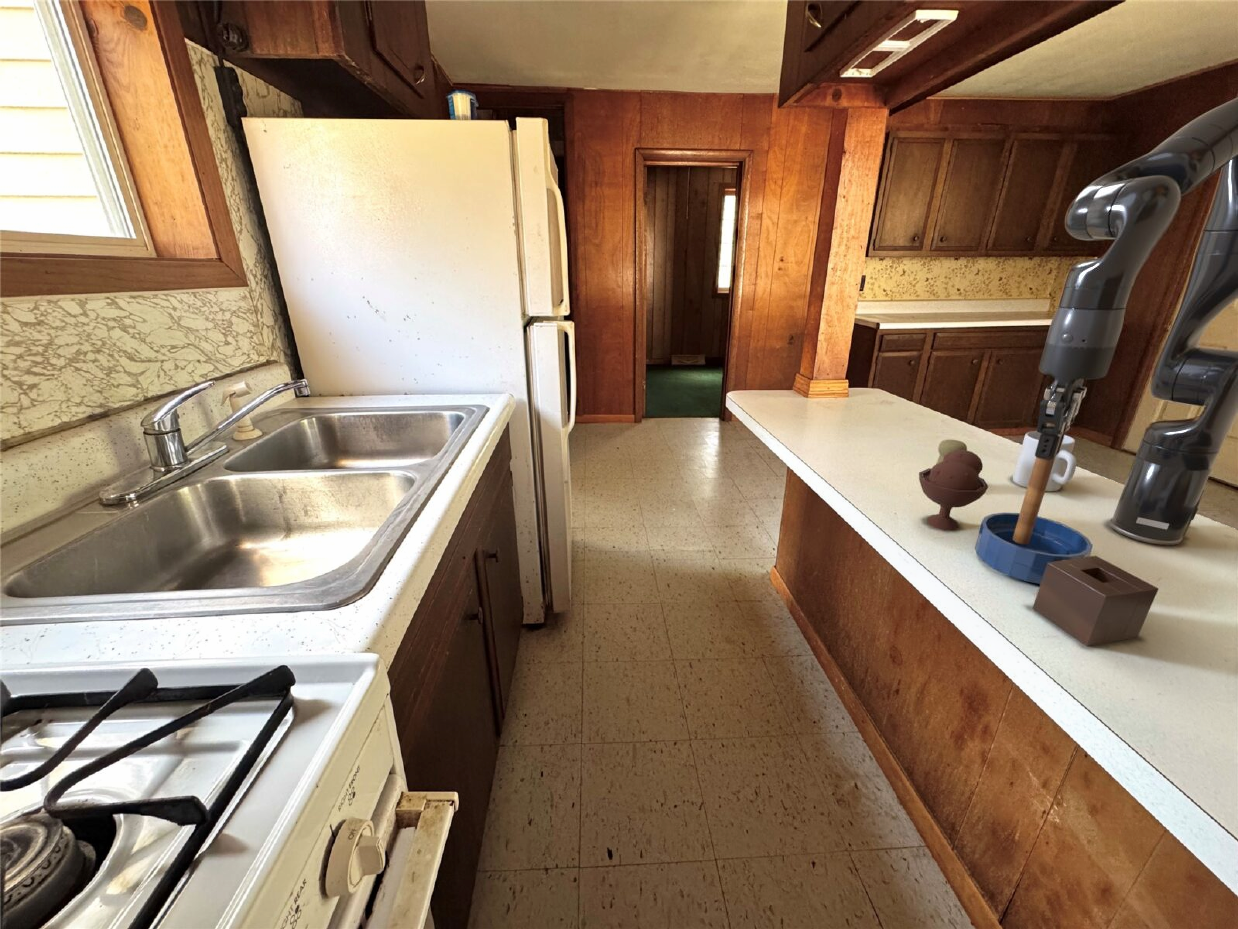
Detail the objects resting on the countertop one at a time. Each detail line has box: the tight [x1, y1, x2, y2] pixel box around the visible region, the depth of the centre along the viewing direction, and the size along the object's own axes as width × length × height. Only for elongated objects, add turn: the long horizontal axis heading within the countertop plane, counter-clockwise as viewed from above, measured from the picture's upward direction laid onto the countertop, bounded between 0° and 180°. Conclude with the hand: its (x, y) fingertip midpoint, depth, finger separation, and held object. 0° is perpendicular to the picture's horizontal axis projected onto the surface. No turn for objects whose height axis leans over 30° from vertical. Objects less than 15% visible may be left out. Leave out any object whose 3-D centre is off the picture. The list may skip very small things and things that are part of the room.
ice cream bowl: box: [918, 449, 989, 532], centre depth 96 cm, size 11×11×15 cm
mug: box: [1012, 430, 1077, 492], centre depth 110 cm, size 12×8×11 cm
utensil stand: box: [1032, 555, 1160, 647], centre depth 70 cm, size 8×8×8 cm
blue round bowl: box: [974, 512, 1093, 585], centre depth 84 cm, size 14×14×6 cm
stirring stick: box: [1013, 423, 1065, 544], centre depth 80 cm, size 2×2×20 cm
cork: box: [935, 439, 968, 465], centre depth 111 cm, size 6×6×11 cm
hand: (1046, 455), depth 78 cm, fingers closed on stirring stick, 2 cm apart
